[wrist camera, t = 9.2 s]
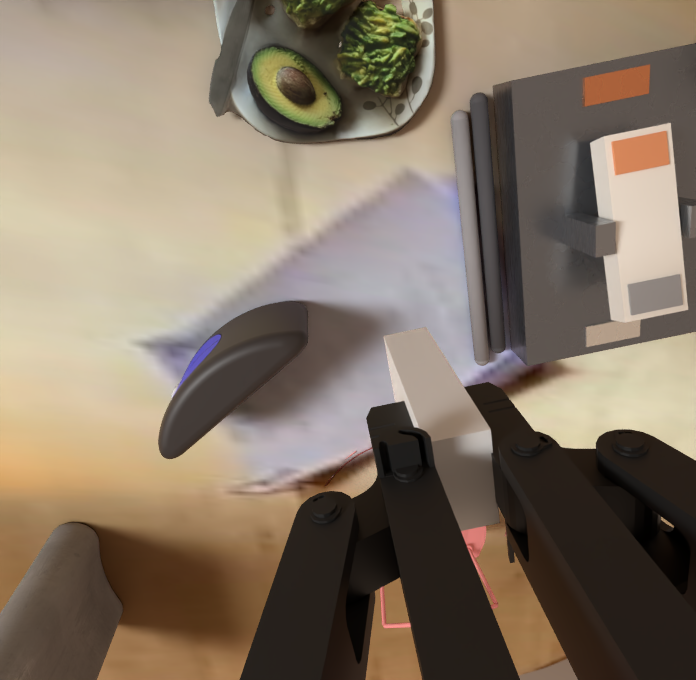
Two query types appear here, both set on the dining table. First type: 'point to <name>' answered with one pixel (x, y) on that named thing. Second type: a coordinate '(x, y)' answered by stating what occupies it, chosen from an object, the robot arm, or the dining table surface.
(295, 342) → the black rounded flat block
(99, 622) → the flask
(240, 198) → the dining table surface
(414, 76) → the salad plate
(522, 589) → the dining table surface
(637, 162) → the rocker
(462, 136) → the rods
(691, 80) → the lever switch plate
